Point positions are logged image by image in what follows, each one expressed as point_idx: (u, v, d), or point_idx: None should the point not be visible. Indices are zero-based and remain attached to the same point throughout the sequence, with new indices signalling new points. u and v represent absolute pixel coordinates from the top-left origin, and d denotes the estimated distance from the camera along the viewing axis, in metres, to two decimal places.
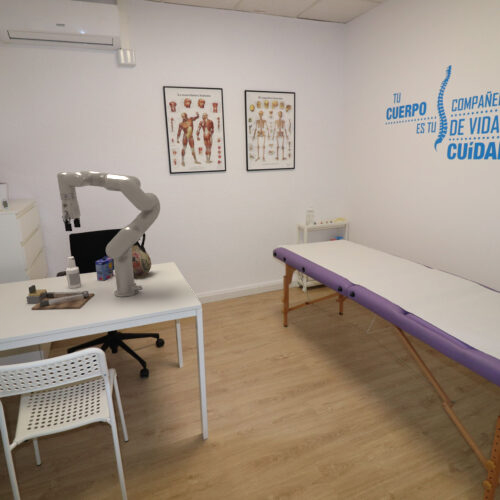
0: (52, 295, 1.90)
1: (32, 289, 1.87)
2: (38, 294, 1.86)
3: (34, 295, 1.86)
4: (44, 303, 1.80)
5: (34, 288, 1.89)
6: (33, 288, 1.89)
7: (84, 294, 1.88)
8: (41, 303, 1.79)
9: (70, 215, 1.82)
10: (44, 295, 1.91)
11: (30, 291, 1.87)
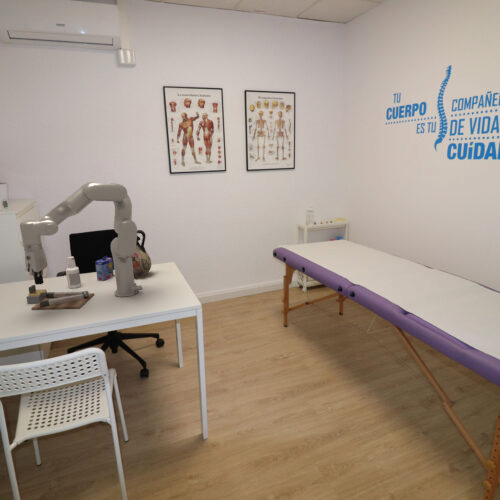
0: (52, 295, 1.90)
1: (32, 289, 1.87)
2: (38, 294, 1.86)
3: (34, 295, 1.86)
4: (44, 303, 1.80)
5: (34, 288, 1.89)
6: (33, 288, 1.89)
7: (84, 294, 1.88)
8: (41, 303, 1.79)
9: (34, 268, 1.65)
10: (44, 295, 1.91)
11: (30, 291, 1.87)
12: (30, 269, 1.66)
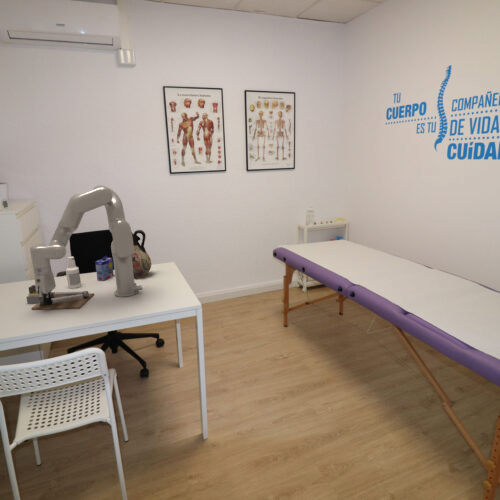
0: (52, 295, 1.90)
1: (32, 289, 1.87)
2: (38, 294, 1.86)
3: (34, 295, 1.86)
4: None
5: (34, 288, 1.89)
6: (33, 288, 1.89)
7: (84, 294, 1.88)
8: (41, 302, 1.80)
9: (44, 290, 1.73)
10: None
11: (30, 291, 1.87)
12: (40, 291, 1.73)
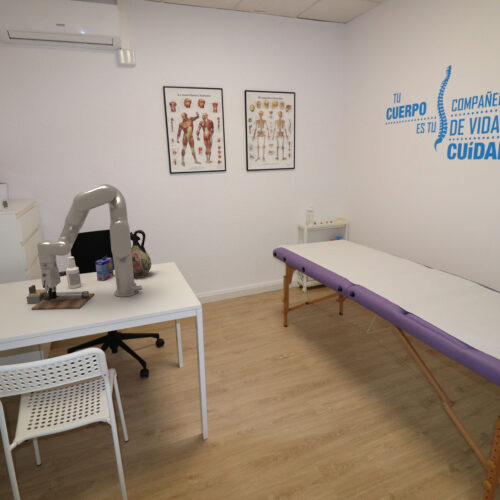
0: None
1: (32, 289, 1.87)
2: (38, 294, 1.86)
3: (34, 295, 1.86)
4: (47, 297, 1.87)
5: (34, 288, 1.89)
6: (33, 288, 1.89)
7: (83, 294, 1.88)
8: (44, 296, 1.87)
9: (49, 284, 1.79)
10: None
11: (30, 291, 1.87)
12: (45, 285, 1.79)
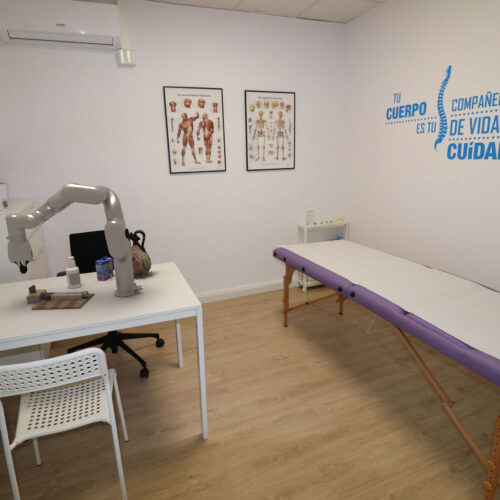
0: None
1: (32, 289, 1.87)
2: (38, 294, 1.86)
3: (34, 295, 1.86)
4: (47, 297, 1.87)
5: (34, 288, 1.89)
6: (33, 288, 1.89)
7: (83, 294, 1.88)
8: (44, 296, 1.87)
9: None
10: None
11: (30, 291, 1.87)
12: None
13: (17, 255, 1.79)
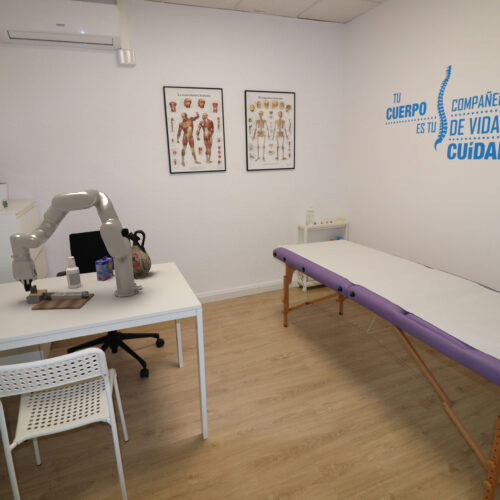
0: None
1: (33, 289, 1.87)
2: (39, 294, 1.86)
3: (35, 295, 1.86)
4: (47, 297, 1.87)
5: (35, 288, 1.89)
6: (34, 288, 1.89)
7: (83, 294, 1.88)
8: (44, 296, 1.87)
9: None
10: None
11: (31, 291, 1.87)
12: None
13: (20, 274, 1.83)
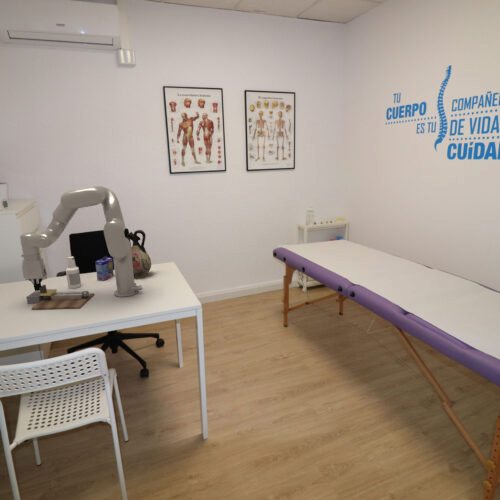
0: None
1: (42, 289, 1.87)
2: (49, 294, 1.86)
3: (45, 295, 1.86)
4: (47, 297, 1.87)
5: (45, 288, 1.89)
6: (44, 288, 1.89)
7: (83, 294, 1.88)
8: (44, 296, 1.87)
9: None
10: None
11: (41, 291, 1.87)
12: None
13: (30, 273, 1.83)
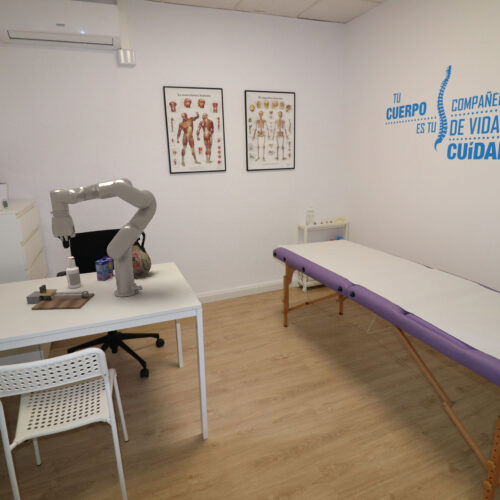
0: None
1: (42, 289, 1.87)
2: (49, 294, 1.86)
3: (45, 295, 1.86)
4: (47, 297, 1.87)
5: (45, 288, 1.89)
6: (44, 288, 1.89)
7: (83, 294, 1.88)
8: (44, 296, 1.87)
9: None
10: None
11: (41, 291, 1.87)
12: None
13: (60, 230, 1.84)
